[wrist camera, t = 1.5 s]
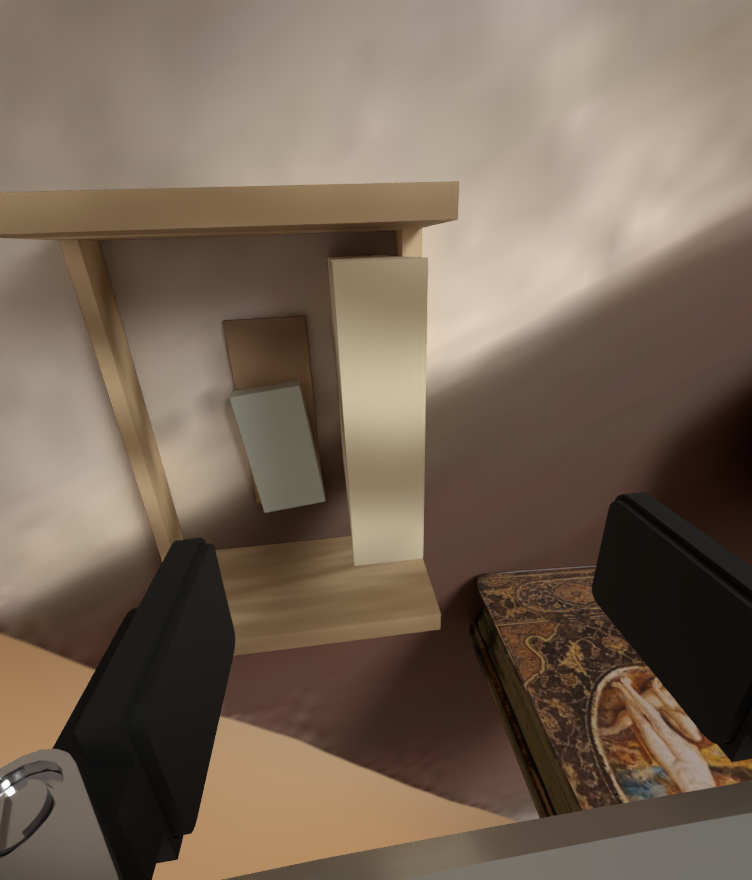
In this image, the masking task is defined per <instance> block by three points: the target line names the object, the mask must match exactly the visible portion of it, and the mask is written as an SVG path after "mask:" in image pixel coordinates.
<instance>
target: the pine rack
mask: <svg viewBox="0 0 752 880" xmlns="http://www.w3.org/2000/svg"><path fill="white" fill-rule="evenodd" d="M458 196H459V181H457V182H415V183H374V184H332V185H290V186H248V187H206V188H164V189H122V190H80V191H39V192H0V238H19V239H42V240H59V242H60V245H61V248H62V251H63V254H64V258H65V261H66V264H67V267H68V270H69V273H70V276H71V279H72V282H73V286H74V289H75V292H76V295H77V298H78V301H79V304H80V307H81V311H82V314H83V317H84V320H85V323H86V326H87V329H88V332H89V335H90V339H91V342H92V345H93V348H94V351H95V354H96V357H97V360H98V363H99V367H100V370H101V373H102V376H103V379H104V382H105V385H106V388H107V391H108V395H109V398H110V401H111V404H112V407H113V410H114V413H115V416H116V420H117V423H118V426H119V429H120V432H121V435H122V438H123V441H124V444H125V448H126V451H127V454H128V457H129V460H130V463H131V466H132V469H133V472H134V476H135V479H136V482H137V485H138V488H139V491H140V494H141V497H142V500H143V504H144V507H145V510H146V513H147V516H148V519H149V522H150V525H151V529H152V532H153V535H154V538H155V541H156V544H157V547H158V550H159V553H160V557H161V560H162V562H163V560H164V558H165V556H166V554H167V552H168V551H169V549H170V547H171V545H172V543H173V542H174V541H176V540H184V539H183V536H182V532H181V529H180V525H179V522H178V518H177V515H176V511H175V508H174V504H173V501H172V497H171V494H170V490H169V487H168V483H167V480H166V476H165V473H164V469H163V466H162V462H161V459H160V455H159V452H158V448H157V445H156V441H155V438H154V434H153V431H152V427H151V424H150V420H149V417H148V413H147V410H146V406H145V403H144V399H143V396H142V392H141V389H140V385H139V382H138V378H137V375H136V371H135V368H134V364H133V361H132V357H131V354H130V350H129V347H128V343H127V340H126V336H125V333H124V329H123V326H122V322H121V319H120V315H119V312H118V308H117V305H116V301H115V298H114V294H113V291H112V287H111V283H110V280H109V276H108V273H107V269H106V266H105V262H104V259H103V255H102V252H101V248H100V245H99V241H101V240H130V239H159V238H188V237H216V236H245V235H274V234H303V233H332V232H360V231H389V230H396V256H404V257H420V258H422V228H423V227H427V226H431V225H436V224H440V223H444V222H448V221H453V220H457V219H458ZM215 551H216V555H217V559H218V564H219V568H220V572H221V576H222V580H223V584H224V589H225V593H226V597H227V601H228V605H229V610H230V614H231V618H232V622H233V626H234V631H235V650H234V654H233V656H235V655H243V654H251V653H259V652H267V651H274V650H282V649H290V648H298V647H306V646H314V645H322V644H329V643H337V642H345V641H353V640H361V639H369V638H376V637H384V636H392V635H400V634H408V633H416V632H423V631H431V630H439V629H440V627H441V613H440V610H439V607H438V604H437V601H436V598H435V595H434V591H433V588H432V585H431V582H430V579H429V576H428V573H427V570H426V567H425V564H424V561H423V559H414V560H405V561H396V562H387V563H378V564H369V565H360V566H354V557H353V547H352V538H351V536H345V537H336V538H326V539H316V540H307V541H297V542H287V543H278V544H268V545H258V546H249V547H239V548H230V549H220V550H215Z"/></svg>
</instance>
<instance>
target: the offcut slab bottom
mask: <svg viewBox="0 0 752 880" xmlns="http://www.w3.org/2000/svg"><path fill="white" fill-rule="evenodd" d="M223 324H224V330H225V335H226V340H227V346H228V351H229V356H230V362H231V367H232V373H233V378H234V383H235V389H236V391H238V390H243V389H249V388H255V387H261V386H267V385H273V384H279V383H284V382H290V381H296V380H300V382H301V387H302V391H303V396H304V400H305V405H306V409H307V413H308V418H309V422H310V427H311V431H312V436H313V440H314V445H315V449H316V454H317V458H318V463H319V467H320V472H321V464H320V454H319V445H318V435H317V426H316V416H315V407H314V397H313V388H312V378H311V369H310V359H309V350H308V340H307V331H306V321H305V316H293V317H275V318H256V319H238V320H224V321H223ZM250 469H251V467H250ZM251 474H252V480H253V485H254V491H255V496H256V501H257V503H261V500H260V496H259V493H258V490H257V486H256V483H255V480H254V477H253V473H252V470H251ZM321 476H322V473H321Z"/></svg>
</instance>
